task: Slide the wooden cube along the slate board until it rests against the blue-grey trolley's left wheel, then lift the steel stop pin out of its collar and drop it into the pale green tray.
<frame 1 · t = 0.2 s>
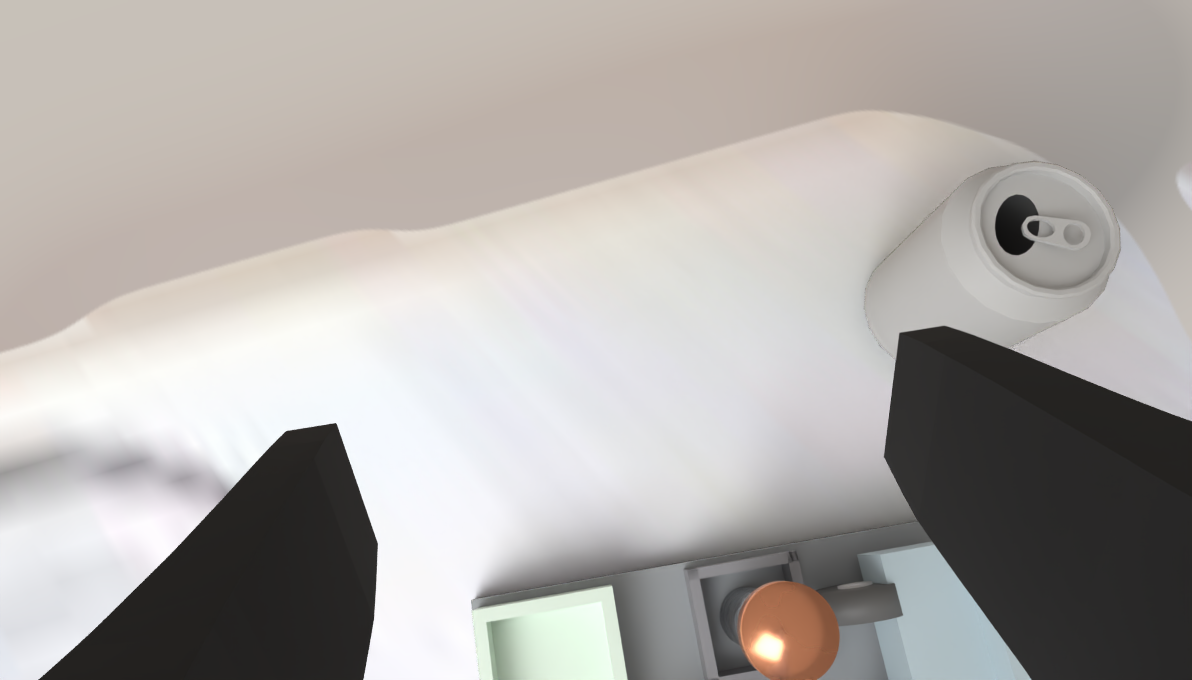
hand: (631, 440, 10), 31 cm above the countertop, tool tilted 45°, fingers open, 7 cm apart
stop pin: (747, 616, 37), point 1 cm above the countertop, touching ramp board
tray: (555, 674, 36), resting on ramp board
trolley: (912, 653, 38), resting on ramp board
can: (922, 315, 43), on the countertop
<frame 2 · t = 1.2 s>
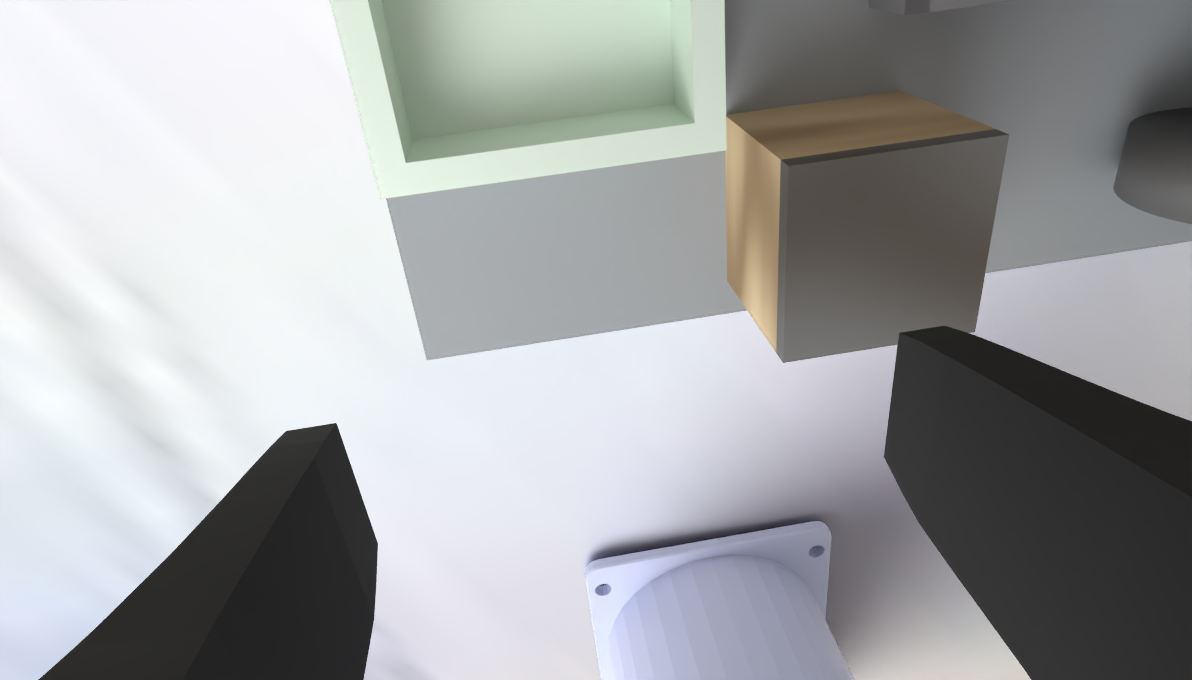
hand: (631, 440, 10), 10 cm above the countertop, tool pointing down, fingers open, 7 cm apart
wooden cube: (809, 190, 17), point 1 cm above the countertop, touching ramp board
ramp board: (902, 18, 17), on the countertop
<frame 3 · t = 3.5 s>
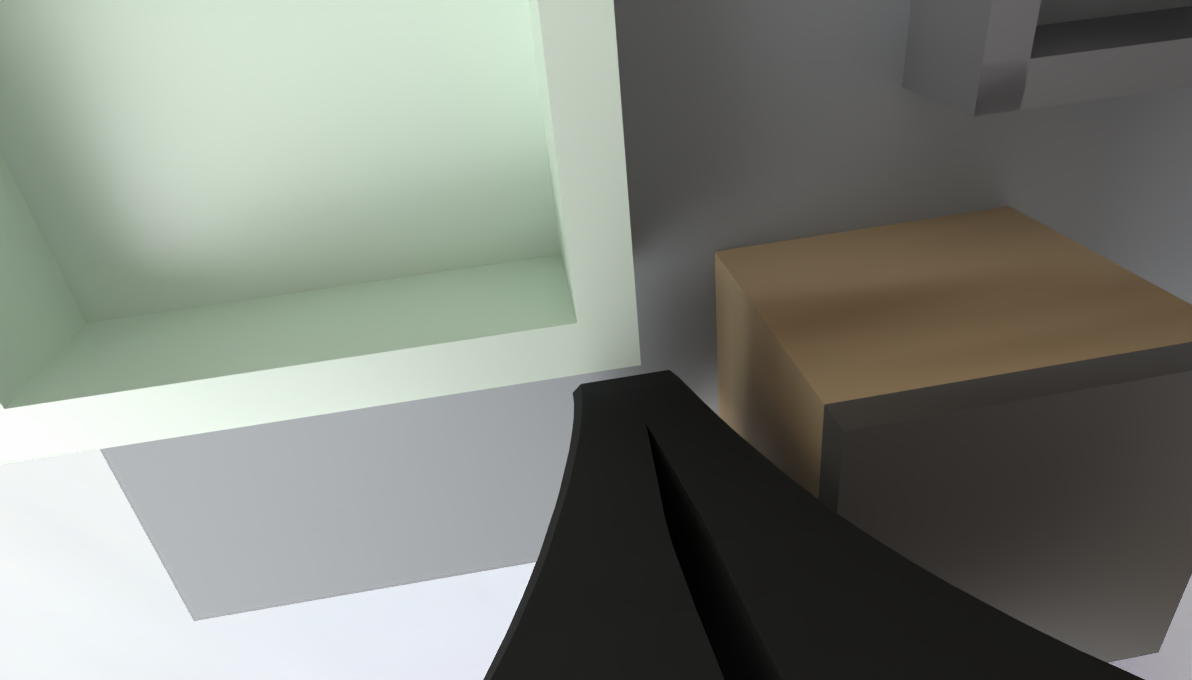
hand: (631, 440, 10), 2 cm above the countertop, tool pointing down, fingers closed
tray: (255, 0, 8), resting on ramp board
wooden cube: (853, 358, 11), point 1 cm above the countertop, touching gripper, ramp board
ramp board: (952, 93, 10), on the countertop
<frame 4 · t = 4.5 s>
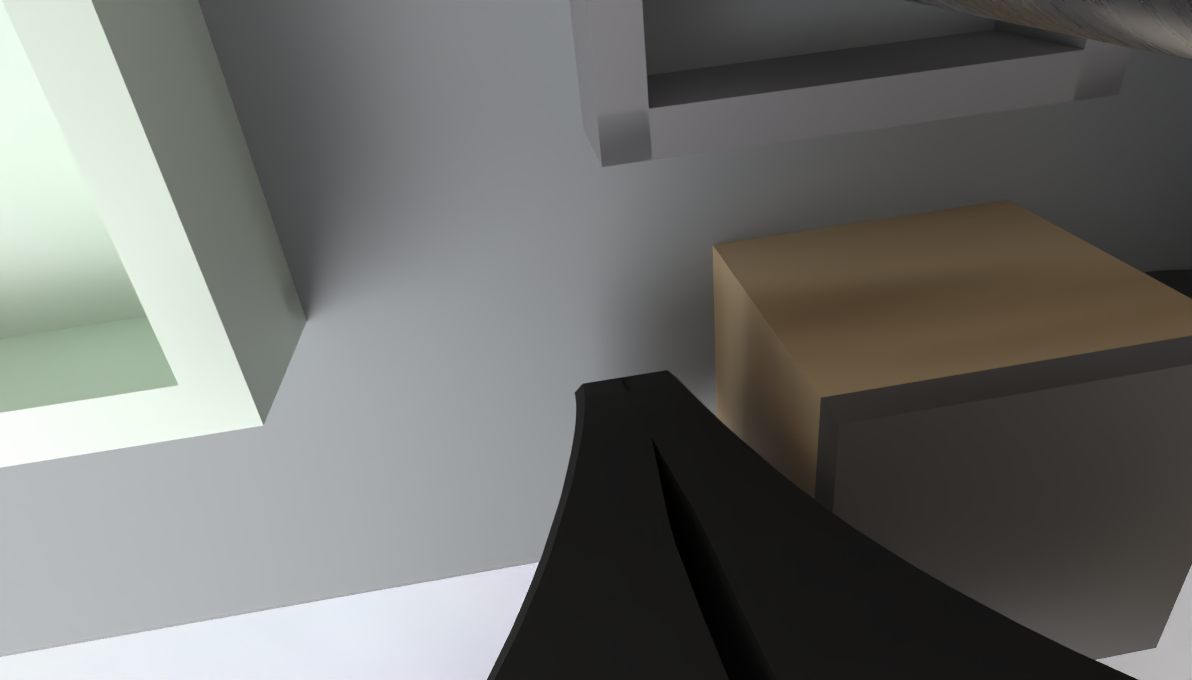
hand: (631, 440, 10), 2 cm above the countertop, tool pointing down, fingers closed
wooden cube: (851, 352, 11), point 1 cm above the countertop, touching gripper, ramp board, trolley
ramp board: (679, 129, 10), on the countertop
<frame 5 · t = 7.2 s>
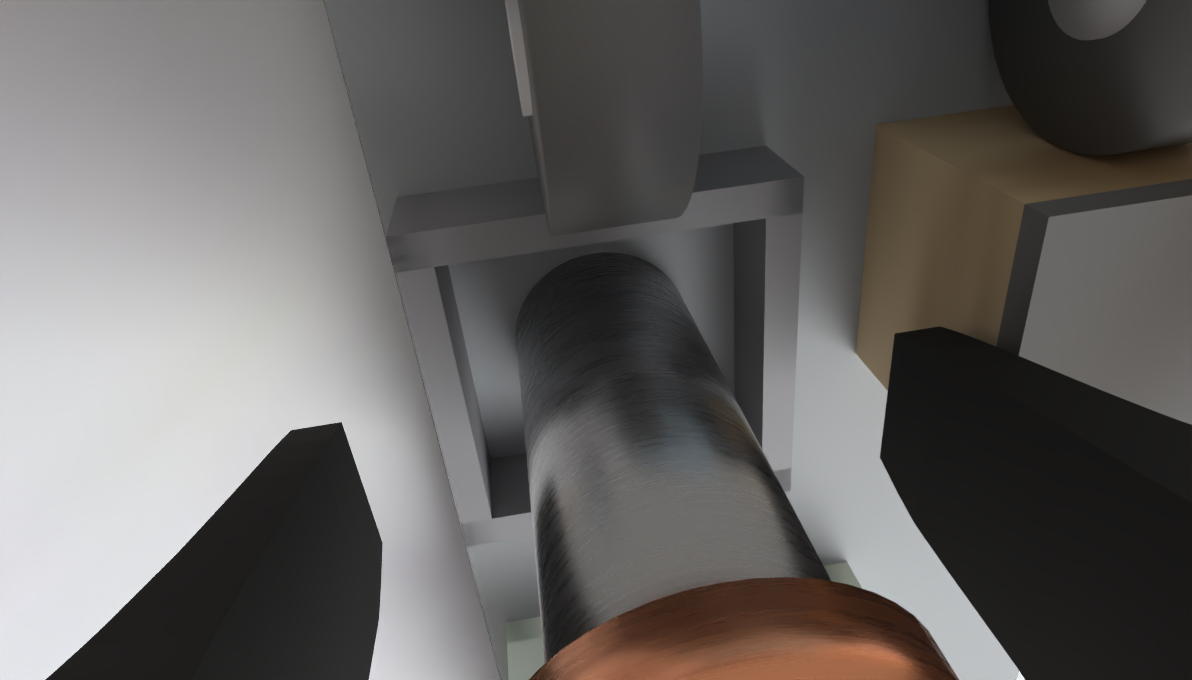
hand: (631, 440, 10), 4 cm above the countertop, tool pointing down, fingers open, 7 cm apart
stop pin: (602, 332, 12), point 1 cm above the countertop, touching ramp board
wooden cube: (983, 230, 12), point 1 cm above the countertop, touching gripper, ramp board
ramp board: (767, 334, 14), on the countertop
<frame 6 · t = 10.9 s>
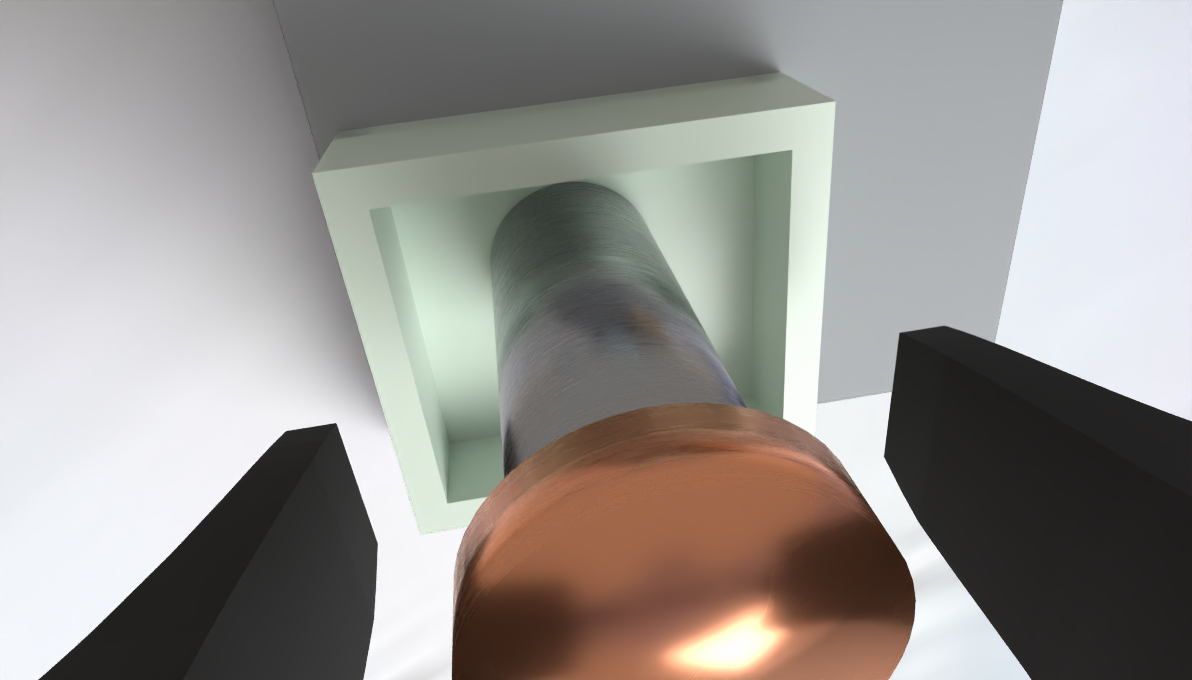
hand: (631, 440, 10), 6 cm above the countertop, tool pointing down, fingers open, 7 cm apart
stop pin: (572, 260, 13), point 2 cm above the countertop, touching tray
tray: (585, 284, 14), resting on ramp board
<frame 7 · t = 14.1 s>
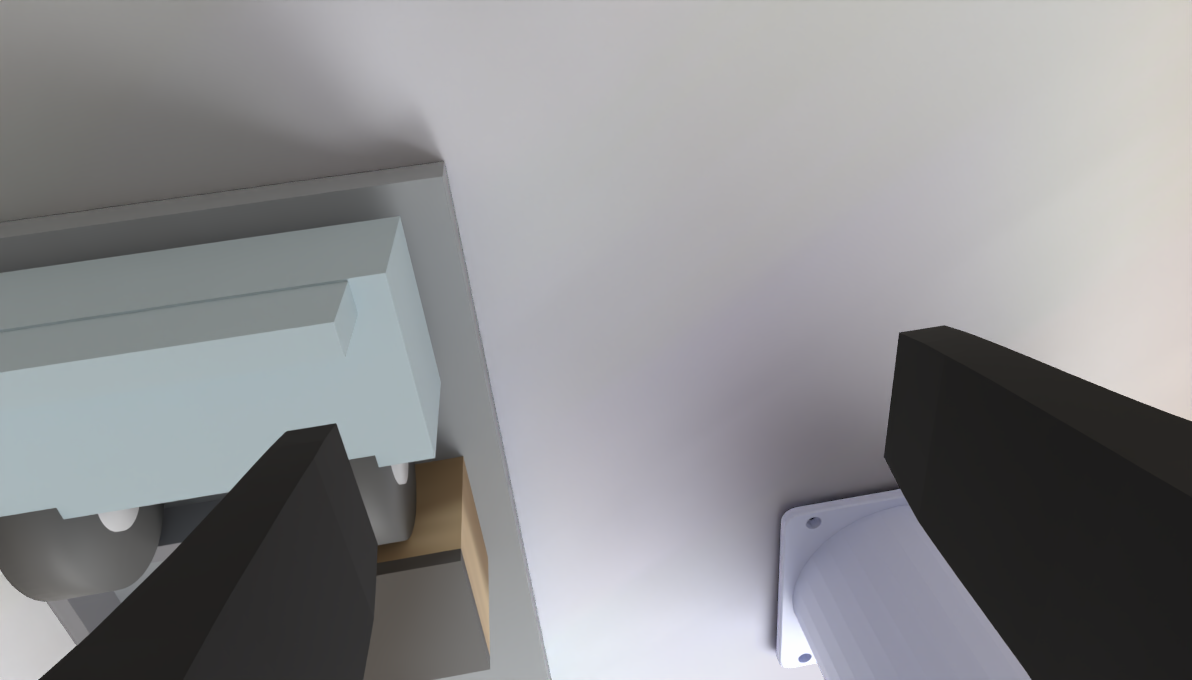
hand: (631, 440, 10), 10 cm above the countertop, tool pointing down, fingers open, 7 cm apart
wooden cube: (407, 521, 22), point 1 cm above the countertop, touching ramp board
trolley: (220, 299, 19), resting on ramp board
ramp board: (324, 560, 24), on the countertop
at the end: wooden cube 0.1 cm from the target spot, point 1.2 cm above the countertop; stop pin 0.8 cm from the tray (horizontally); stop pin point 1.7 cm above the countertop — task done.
